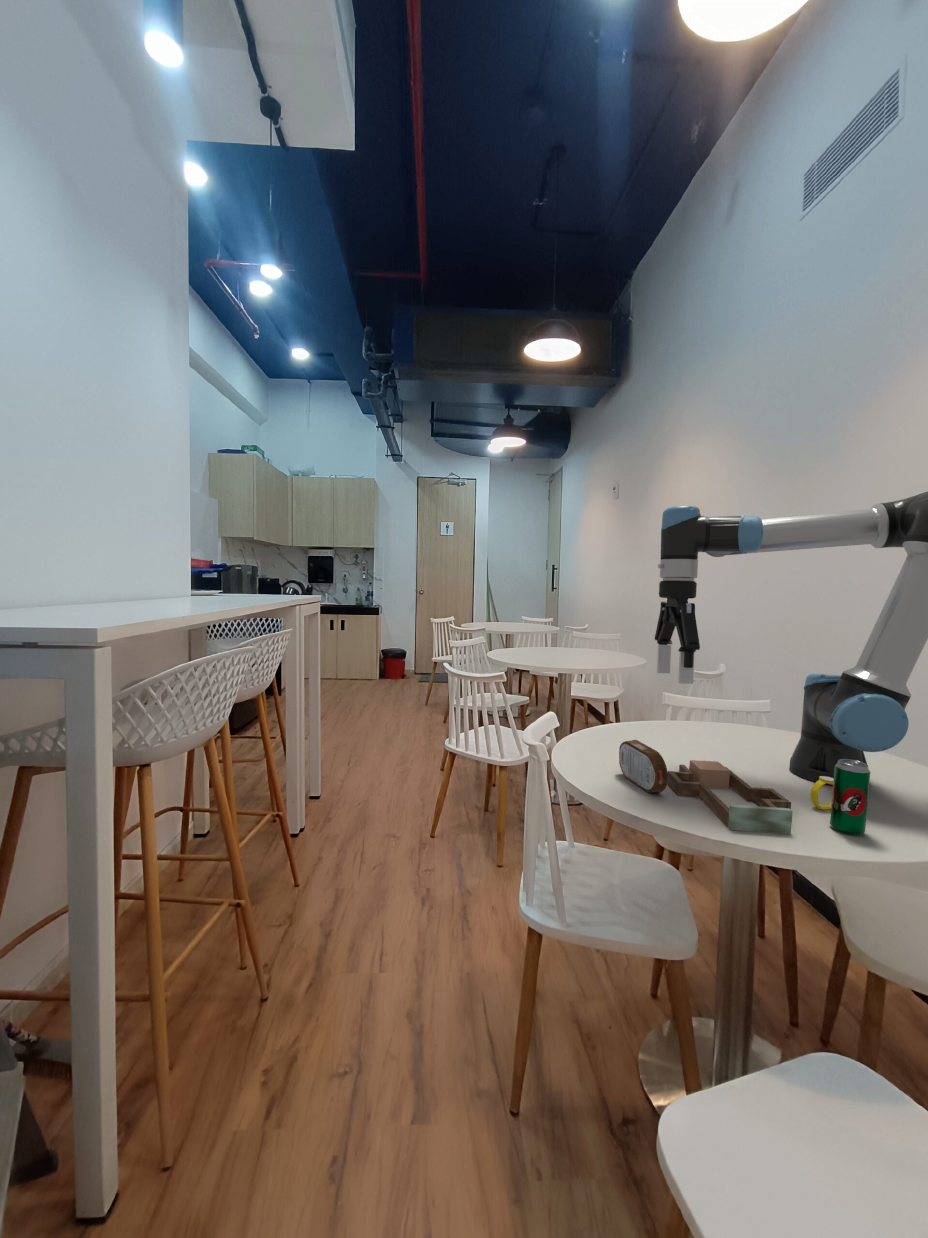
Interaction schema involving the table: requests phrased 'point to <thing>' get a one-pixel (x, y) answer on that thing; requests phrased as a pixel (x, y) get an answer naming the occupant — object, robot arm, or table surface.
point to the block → (710, 773)
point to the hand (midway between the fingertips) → (673, 678)
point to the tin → (643, 766)
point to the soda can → (850, 797)
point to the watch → (816, 789)
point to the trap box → (761, 818)
